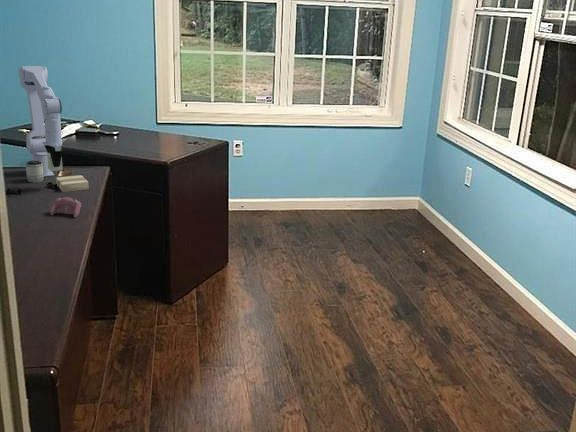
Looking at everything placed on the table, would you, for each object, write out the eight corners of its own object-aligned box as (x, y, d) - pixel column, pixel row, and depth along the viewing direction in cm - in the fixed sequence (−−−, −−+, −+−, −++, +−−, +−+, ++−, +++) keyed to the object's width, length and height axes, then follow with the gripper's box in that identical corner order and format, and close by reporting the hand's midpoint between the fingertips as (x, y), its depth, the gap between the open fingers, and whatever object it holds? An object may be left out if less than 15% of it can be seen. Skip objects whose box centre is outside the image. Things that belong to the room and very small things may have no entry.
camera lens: (31, 177, 247) (29, 159, 244) (46, 179, 247) (45, 160, 244) (24, 182, 241) (22, 163, 238) (39, 183, 241) (38, 164, 238)
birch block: (56, 184, 241) (56, 177, 240) (82, 182, 246) (81, 175, 245) (62, 192, 233) (62, 184, 232) (88, 189, 238) (88, 182, 237)
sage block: (47, 168, 235) (46, 153, 233) (59, 167, 237) (59, 152, 235) (50, 171, 231) (49, 155, 229) (62, 170, 234) (61, 155, 232)
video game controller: (81, 219, 212) (84, 199, 213) (76, 217, 208) (78, 197, 209) (53, 216, 213) (56, 196, 214) (48, 214, 208) (51, 194, 209)
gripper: (38, 126, 233) (40, 160, 237) (46, 135, 221) (48, 170, 226) (57, 126, 236) (59, 159, 241) (65, 134, 225) (67, 169, 230)
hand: (55, 164), depth 234 cm, fingers closed on sage block, 4 cm apart
